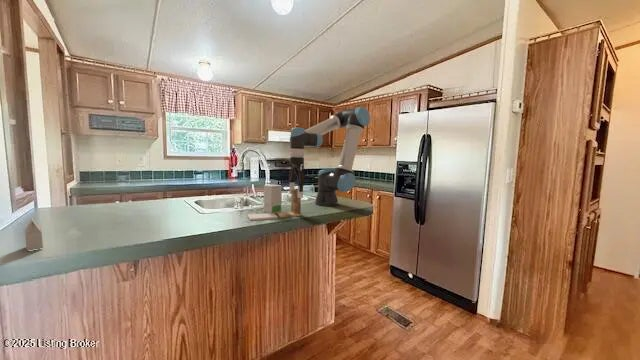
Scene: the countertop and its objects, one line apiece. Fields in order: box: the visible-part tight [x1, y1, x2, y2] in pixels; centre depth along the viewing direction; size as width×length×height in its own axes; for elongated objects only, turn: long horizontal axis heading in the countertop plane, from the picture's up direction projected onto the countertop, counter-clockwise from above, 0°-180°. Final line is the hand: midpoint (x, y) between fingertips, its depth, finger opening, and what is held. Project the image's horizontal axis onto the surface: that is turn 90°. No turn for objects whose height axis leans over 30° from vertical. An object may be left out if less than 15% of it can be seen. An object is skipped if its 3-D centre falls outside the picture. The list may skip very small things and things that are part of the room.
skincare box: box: [263, 184, 283, 214], centre depth 154 cm, size 8×7×16 cm
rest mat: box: [246, 213, 279, 222], centre depth 142 cm, size 14×9×1 cm, turn 114°
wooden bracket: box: [276, 188, 302, 218], centre depth 148 cm, size 12×6×14 cm, turn 114°
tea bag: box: [24, 217, 44, 251], centre depth 93 cm, size 4×7×10 cm, turn 48°
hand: (295, 195), depth 149 cm, fingers open, 13 cm apart
